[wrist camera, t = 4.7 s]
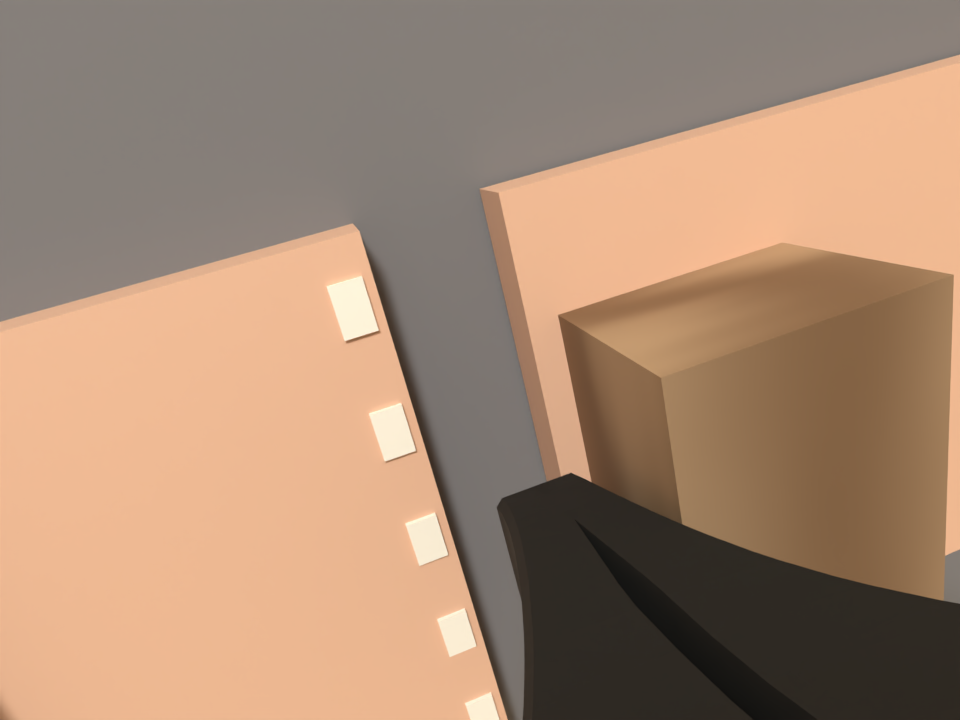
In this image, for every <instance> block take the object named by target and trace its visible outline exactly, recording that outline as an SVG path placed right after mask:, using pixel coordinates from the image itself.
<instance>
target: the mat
mask: <svg viewBox="0 0 960 720" xmlns="http://www.w3.org/2000/svg"><path fill="white" fill-rule="evenodd" d="M957 55H960V0H0V322H1V321H5V320H8V319H12V318H15V317H19V316H23V315H26V314H30V313H33V312H37V311H41V310H44V309H48V308H51V307H55V306H58V305H62V304H66V303H69V302H73V301H76V300H80V299H84V298H87V297H91V296H94V295H98V294H101V293H105V292H109V291H112V290H116V289H119V288H123V287H127V286H130V285H134V284H137V283H141V282H144V281H148V280H152V279H155V278H159V277H162V276H166V275H170V274H173V273H177V272H180V271H184V270H187V269H191V268H195V267H198V266H202V265H205V264H209V263H213V262H216V261H220V260H223V259H227V258H230V257H234V256H238V255H241V254H245V253H248V252H252V251H256V250H259V249H263V248H266V247H270V246H273V245H277V244H281V243H284V242H288V241H291V240H295V239H298V238H302V237H306V236H309V235H313V234H316V233H320V232H324V231H327V230H331V229H334V228H338V227H341V226H345V225H349V224H352V223H353V224H354V225H355V227H356V228H357V229H358V230H359V231H360V235H361V238H362V241H363V245H364V248H365V251H366V255H367V258H368V261H369V264H370V268H371V271H372V274H373V278H374V281H375V284H376V287H377V291H378V294H379V297H380V301H381V304H382V307H383V311H384V314H385V317H386V320H387V324H388V327H389V330H390V334H391V337H392V340H393V343H394V347H395V350H396V353H397V357H398V360H399V363H400V367H401V370H402V373H403V376H404V380H405V383H406V386H407V390H408V393H409V396H410V399H411V403H412V406H413V409H414V413H415V416H416V419H417V423H418V426H419V429H420V432H421V436H422V439H423V442H424V446H425V449H426V452H427V455H428V459H429V462H430V465H431V469H432V472H433V475H434V479H435V482H436V485H437V488H438V492H439V495H440V498H441V502H442V505H443V508H444V511H445V515H446V518H447V521H448V525H449V528H450V531H451V535H452V538H453V541H454V544H455V548H456V551H457V554H458V558H459V561H460V564H461V568H462V571H463V574H464V577H465V581H466V584H467V587H468V591H469V594H470V597H471V600H472V604H473V607H474V610H475V614H476V617H477V620H478V624H479V627H480V630H481V633H482V637H483V640H484V643H485V647H486V650H487V653H488V656H489V660H490V663H491V666H492V670H493V673H494V676H495V680H496V683H497V686H498V689H499V693H500V696H501V699H502V703H503V706H504V709H505V712H506V716H507V719H508V720H523V704H524V629H523V613H522V601H521V597H520V593H519V590H518V586H517V582H516V578H515V575H514V571H513V567H512V563H511V560H510V556H509V552H508V548H507V545H506V541H505V537H504V533H503V530H502V526H501V522H500V518H499V515H498V511H497V506H498V504H499V502H500V501H501V499H502V498H504V497H506V496H509V495H512V494H515V493H517V492H520V491H523V490H525V489H528V488H531V487H534V486H536V485H539V484H542V483H544V482H547V480H546V476H545V471H544V467H543V463H542V458H541V454H540V450H539V445H538V441H537V437H536V432H535V428H534V424H533V419H532V415H531V411H530V406H529V402H528V398H527V393H526V389H525V385H524V380H523V376H522V372H521V367H520V363H519V359H518V354H517V350H516V346H515V341H514V337H513V333H512V328H511V324H510V320H509V315H508V311H507V307H506V302H505V298H504V294H503V289H502V285H501V281H500V276H499V272H498V268H497V263H496V259H495V255H494V250H493V246H492V242H491V237H490V233H489V229H488V224H487V220H486V216H485V211H484V207H483V203H482V198H481V194H480V190H479V189H481V188H484V187H488V186H491V185H495V184H498V183H502V182H506V181H509V180H513V179H516V178H520V177H524V176H527V175H531V174H534V173H538V172H541V171H545V170H549V169H552V168H556V167H559V166H563V165H566V164H570V163H574V162H577V161H581V160H584V159H588V158H592V157H595V156H599V155H602V154H606V153H609V152H613V151H617V150H620V149H624V148H627V147H631V146H634V145H638V144H642V143H645V142H649V141H652V140H656V139H660V138H663V137H667V136H670V135H674V134H677V133H681V132H685V131H688V130H692V129H695V128H699V127H702V126H706V125H710V124H713V123H717V122H720V121H724V120H728V119H731V118H735V117H738V116H742V115H745V114H749V113H753V112H756V111H760V110H763V109H767V108H770V107H774V106H778V105H781V104H785V103H788V102H792V101H796V100H799V99H803V98H806V97H810V96H813V95H817V94H821V93H824V92H828V91H831V90H835V89H838V88H842V87H846V86H849V85H853V84H856V83H860V82H864V81H867V80H871V79H874V78H878V77H881V76H885V75H889V74H892V73H896V72H899V71H903V70H907V69H910V68H914V67H917V66H921V65H924V64H928V63H932V62H935V61H939V60H942V59H946V58H949V57H953V56H957ZM944 601H948V602H953V603H959V604H960V549H959V550H957V551H955V552H952V553H950V554H948V555H946V556H945V575H944Z"/></svg>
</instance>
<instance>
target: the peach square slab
mask: <svg viewBox="0 0 960 720" xmlns="http://www.w3.org/2000/svg"><path fill="white" fill-rule="evenodd" d="M479 190H480V194H481V198H482V203H483V207H484V211H485V216H486V220H487V224H488V229H489V233H490V237H491V242H492V246H493V250H494V255H495V259H496V263H497V268H498V272H499V276H500V281H501V285H502V289H503V294H504V298H505V302H506V307H507V311H508V315H509V320H510V324H511V328H512V333H513V337H514V341H515V346H516V350H517V354H518V359H519V363H520V367H521V372H522V376H523V380H524V385H525V389H526V393H527V398H528V402H529V406H530V411H531V415H532V419H533V424H534V428H535V432H536V437H537V441H538V445H539V450H540V454H541V458H542V463H543V467H544V471H545V476H546V480H547V481H550V480H553V479H555V478H558V477H561V476H563V475H566V474H569V473H573V474H575V475H577V476H580V477H582V478H584V479H586V480H588V481H590V482H592V483H594V484H596V485H598V486H600V487H602V488H604V489H606V490H608V491H610V492H613V493H615V494H617V495H619V496H621V497H623V498H625V499H627V500H629V501H631V502H633V503H636V504H638V505H640V506H642V507H644V508H646V509H649V510H651V511H653V512H655V513H657V514H660V515H662V516H664V517H666V518H669V519H671V520H673V521H676V522H678V523H680V524H683V525H685V526H688V527H690V528H693V529H695V530H697V531H700V532H702V533H705V534H707V535H710V536H713V537H715V538H718V539H721V540H723V541H726V542H729V543H732V544H734V545H737V546H740V547H742V548H745V549H748V550H750V551H753V552H756V553H759V554H762V555H765V556H768V557H771V558H774V559H778V560H781V561H784V562H788V563H791V564H795V565H798V566H801V567H805V568H808V569H812V570H815V571H819V572H822V573H825V574H829V575H832V576H836V577H840V578H844V579H848V580H852V581H856V582H860V583H864V584H868V585H872V586H877V587H881V588H886V589H891V590H895V591H900V592H904V593H909V594H914V595H918V596H923V597H927V598H932V599H937V600H942V601H944V575H945V556H946V555H948V554H950V553H952V552H955V551H957V550H959V549H960V55H957V56H953V57H949V58H946V59H942V60H939V61H935V62H932V63H928V64H924V65H921V66H917V67H914V68H910V69H907V70H903V71H899V72H896V73H892V74H889V75H885V76H881V77H878V78H874V79H871V80H867V81H864V82H860V83H856V84H853V85H849V86H846V87H842V88H838V89H835V90H831V91H828V92H824V93H821V94H817V95H813V96H810V97H806V98H803V99H799V100H796V101H792V102H788V103H785V104H781V105H778V106H774V107H770V108H767V109H763V110H760V111H756V112H753V113H749V114H745V115H742V116H738V117H735V118H731V119H728V120H724V121H720V122H717V123H713V124H710V125H706V126H702V127H699V128H695V129H692V130H688V131H685V132H681V133H677V134H674V135H670V136H667V137H663V138H660V139H656V140H652V141H649V142H645V143H642V144H638V145H634V146H631V147H627V148H624V149H620V150H617V151H613V152H609V153H606V154H602V155H599V156H595V157H592V158H588V159H584V160H581V161H577V162H574V163H570V164H566V165H563V166H559V167H556V168H552V169H549V170H545V171H541V172H538V173H534V174H531V175H527V176H524V177H520V178H516V179H513V180H509V181H506V182H502V183H498V184H495V185H491V186H488V187H484V188H481V189H479Z"/></svg>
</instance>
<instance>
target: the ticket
mask: <svg viewBox="0 0 960 720" xmlns="http://www.w3.org/2000/svg"><path fill="white" fill-rule="evenodd" d="M0 720H508V719H507V716H506V712H505V709H504V706H503V703H502V699H501V696H500V693H499V689H498V686H497V683H496V680H495V676H494V673H493V670H492V666H491V663H490V660H489V656H488V653H487V650H486V647H485V643H484V640H483V637H482V633H481V630H480V627H479V624H478V620H477V617H476V614H475V610H474V607H473V604H472V600H471V597H470V594H469V591H468V587H467V584H466V581H465V577H464V574H463V571H462V568H461V564H460V561H459V558H458V554H457V551H456V548H455V544H454V541H453V538H452V535H451V531H450V528H449V525H448V521H447V518H446V515H445V511H444V508H443V505H442V502H441V498H440V495H439V492H438V488H437V485H436V482H435V479H434V475H433V472H432V469H431V465H430V462H429V459H428V455H427V452H426V449H425V446H424V442H423V439H422V436H421V432H420V429H419V426H418V423H417V419H416V416H415V413H414V409H413V406H412V403H411V399H410V396H409V393H408V390H407V386H406V383H405V380H404V376H403V373H402V370H401V367H400V363H399V360H398V357H397V353H396V350H395V347H394V343H393V340H392V337H391V334H390V330H389V327H388V324H387V320H386V317H385V314H384V311H383V307H382V304H381V301H380V297H379V294H378V291H377V287H376V284H375V281H374V278H373V274H372V271H371V268H370V264H369V261H368V258H367V255H366V251H365V248H364V245H363V241H362V238H361V235H360V231H359V230H358V229H357V228H356V227H355V225H354V224H353V223H352V224H349V225H345V226H341V227H338V228H334V229H331V230H327V231H324V232H320V233H316V234H313V235H309V236H306V237H302V238H298V239H295V240H291V241H288V242H284V243H281V244H277V245H273V246H270V247H266V248H263V249H259V250H256V251H252V252H248V253H245V254H241V255H238V256H234V257H230V258H227V259H223V260H220V261H216V262H213V263H209V264H205V265H202V266H198V267H195V268H191V269H187V270H184V271H180V272H177V273H173V274H170V275H166V276H162V277H159V278H155V279H152V280H148V281H144V282H141V283H137V284H134V285H130V286H127V287H123V288H119V289H116V290H112V291H109V292H105V293H101V294H98V295H94V296H91V297H87V298H84V299H80V300H76V301H73V302H69V303H66V304H62V305H58V306H55V307H51V308H48V309H44V310H41V311H37V312H33V313H30V314H26V315H23V316H19V317H15V318H12V319H8V320H5V321H1V322H0Z"/></svg>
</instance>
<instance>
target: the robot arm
mask: <svg viewBox="0 0 960 720" xmlns="http://www.w3.org/2000/svg"><path fill="white" fill-rule="evenodd" d="M497 511H498V515H499V518H500V522H501V526H502V530H503V533H504V537H505V541H506V545H507V548H508V552H509V556H510V560H511V563H512V567H513V571H514V575H515V578H516V582H517V586H518V590H519V593H520V597H521V601H522V613H523V629H524V704H523V720H960V604H959V603H953V602H948V601H942V600H937V599H932V598H927V597H923V596H918V595H914V594H909V593H904V592H900V591H895V590H891V589H886V588H881V587H877V586H872V585H868V584H864V583H860V582H856V581H852V580H848V579H844V578H840V577H836V576H832V575H829V574H825V573H822V572H819V571H815V570H812V569H808V568H805V567H801V566H798V565H795V564H791V563H788V562H784V561H781V560H778V559H774V558H771V557H768V556H765V555H762V554H759V553H756V552H753V551H750V550H748V549H745V548H742V547H740V546H737V545H734V544H732V543H729V542H726V541H723V540H721V539H718V538H715V537H713V536H710V535H707V534H705V533H702V532H700V531H697V530H695V529H693V528H690V527H688V526H685V525H683V524H680V523H678V522H676V521H673V520H671V519H669V518H666V517H664V516H662V515H660V514H657V513H655V512H653V511H651V510H649V509H646V508H644V507H642V506H640V505H638V504H636V503H633V502H631V501H629V500H627V499H625V498H623V497H621V496H619V495H617V494H615V493H613V492H610V491H608V490H606V489H604V488H602V487H600V486H598V485H596V484H594V483H592V482H590V481H588V480H586V479H584V478H582V477H580V476H577V475H575V474H573V473H569V474H566V475H563V476H561V477H558V478H555V479H553V480H550V481H547V482H544V483H542V484H539V485H536V486H534V487H531V488H528V489H525V490H523V491H520V492H517V493H515V494H512V495H509V496H506V497H504V498H502V499H501V501H500V502H499V504H498V506H497Z"/></svg>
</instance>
